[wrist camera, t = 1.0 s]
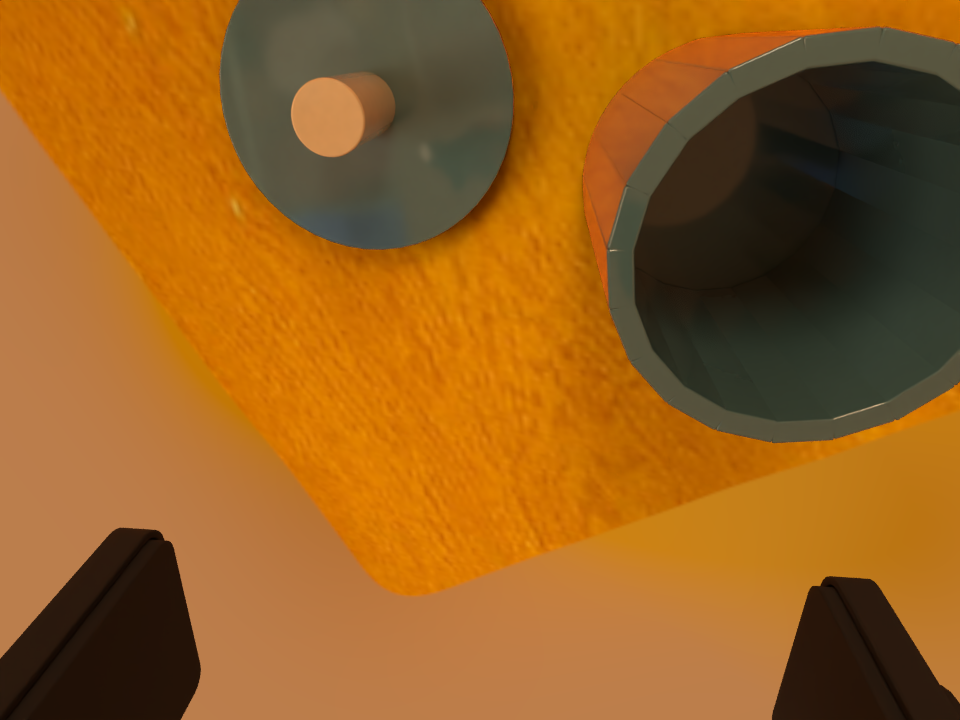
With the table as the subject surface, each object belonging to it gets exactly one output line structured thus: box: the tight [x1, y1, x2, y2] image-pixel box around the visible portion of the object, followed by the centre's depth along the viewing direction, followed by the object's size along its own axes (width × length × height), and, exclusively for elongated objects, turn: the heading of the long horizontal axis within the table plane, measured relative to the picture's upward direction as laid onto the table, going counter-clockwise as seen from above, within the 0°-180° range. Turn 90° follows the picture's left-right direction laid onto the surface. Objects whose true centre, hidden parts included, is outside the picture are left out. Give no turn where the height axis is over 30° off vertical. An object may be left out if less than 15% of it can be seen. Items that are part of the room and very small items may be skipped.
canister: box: [583, 26, 960, 443], centre depth 22 cm, size 10×10×12 cm
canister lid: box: [220, 0, 514, 250], centre depth 24 cm, size 11×11×6 cm
